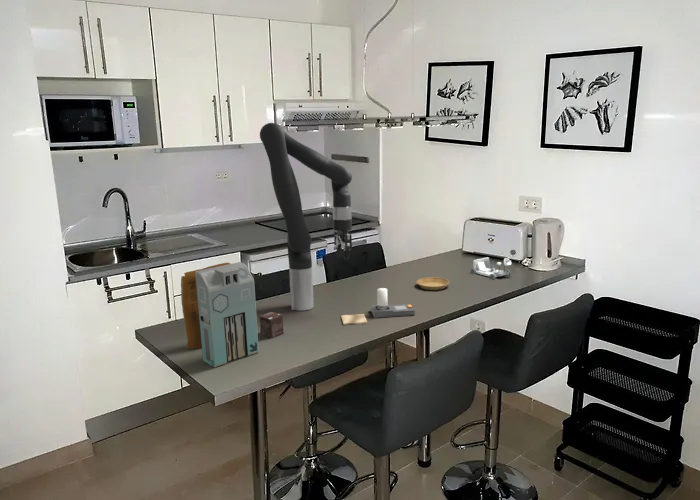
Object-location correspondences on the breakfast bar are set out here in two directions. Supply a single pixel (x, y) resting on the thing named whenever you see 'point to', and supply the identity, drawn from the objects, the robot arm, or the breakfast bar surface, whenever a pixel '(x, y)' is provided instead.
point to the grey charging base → (393, 311)
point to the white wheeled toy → (489, 268)
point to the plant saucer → (432, 283)
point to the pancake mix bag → (192, 307)
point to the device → (227, 313)
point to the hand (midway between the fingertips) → (343, 258)
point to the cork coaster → (354, 319)
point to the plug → (382, 299)
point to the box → (271, 324)
